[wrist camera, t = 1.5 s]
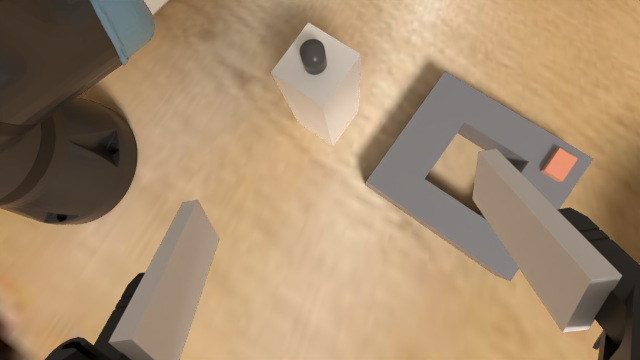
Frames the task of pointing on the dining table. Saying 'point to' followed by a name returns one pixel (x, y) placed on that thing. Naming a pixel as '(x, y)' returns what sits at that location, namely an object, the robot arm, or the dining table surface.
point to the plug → (320, 82)
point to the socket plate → (489, 133)
